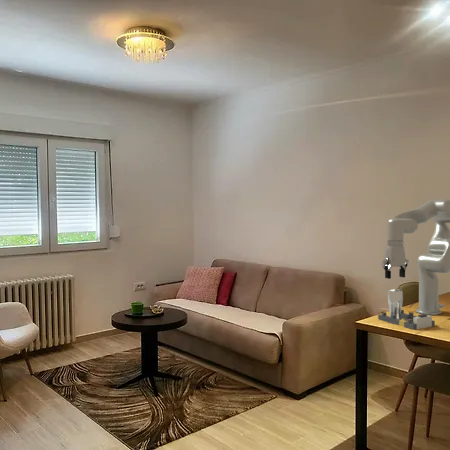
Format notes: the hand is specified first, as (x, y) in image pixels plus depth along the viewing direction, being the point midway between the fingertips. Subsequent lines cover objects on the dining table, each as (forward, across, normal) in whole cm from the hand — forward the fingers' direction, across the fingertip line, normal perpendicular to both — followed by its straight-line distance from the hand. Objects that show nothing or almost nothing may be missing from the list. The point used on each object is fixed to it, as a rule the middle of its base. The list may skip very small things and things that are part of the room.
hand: (395, 277), depth 225 cm
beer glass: (+22, 0, 0) cm, 22 cm away
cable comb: (+21, 0, +6) cm, 22 cm away
